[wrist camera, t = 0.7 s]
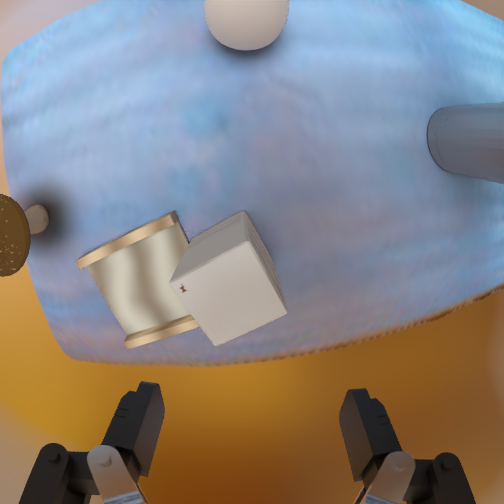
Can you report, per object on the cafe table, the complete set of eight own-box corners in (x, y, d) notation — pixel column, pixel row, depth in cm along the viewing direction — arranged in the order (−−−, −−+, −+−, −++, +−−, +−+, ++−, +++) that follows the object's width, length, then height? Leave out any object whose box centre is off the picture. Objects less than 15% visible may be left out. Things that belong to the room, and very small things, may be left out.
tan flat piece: (174, 210, 33) (169, 214, 31) (222, 309, 37) (221, 319, 35) (83, 255, 34) (75, 261, 32) (132, 339, 39) (128, 348, 37)
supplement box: (221, 287, 36) (212, 349, 25) (190, 237, 34) (164, 281, 22) (274, 261, 36) (290, 315, 24) (246, 207, 33) (248, 238, 21)
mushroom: (86, 235, 34) (16, 283, 19) (31, 254, 34) (-34, 298, 20) (67, 168, 31) (-14, 186, 17) (14, 196, 31) (-59, 222, 17)
